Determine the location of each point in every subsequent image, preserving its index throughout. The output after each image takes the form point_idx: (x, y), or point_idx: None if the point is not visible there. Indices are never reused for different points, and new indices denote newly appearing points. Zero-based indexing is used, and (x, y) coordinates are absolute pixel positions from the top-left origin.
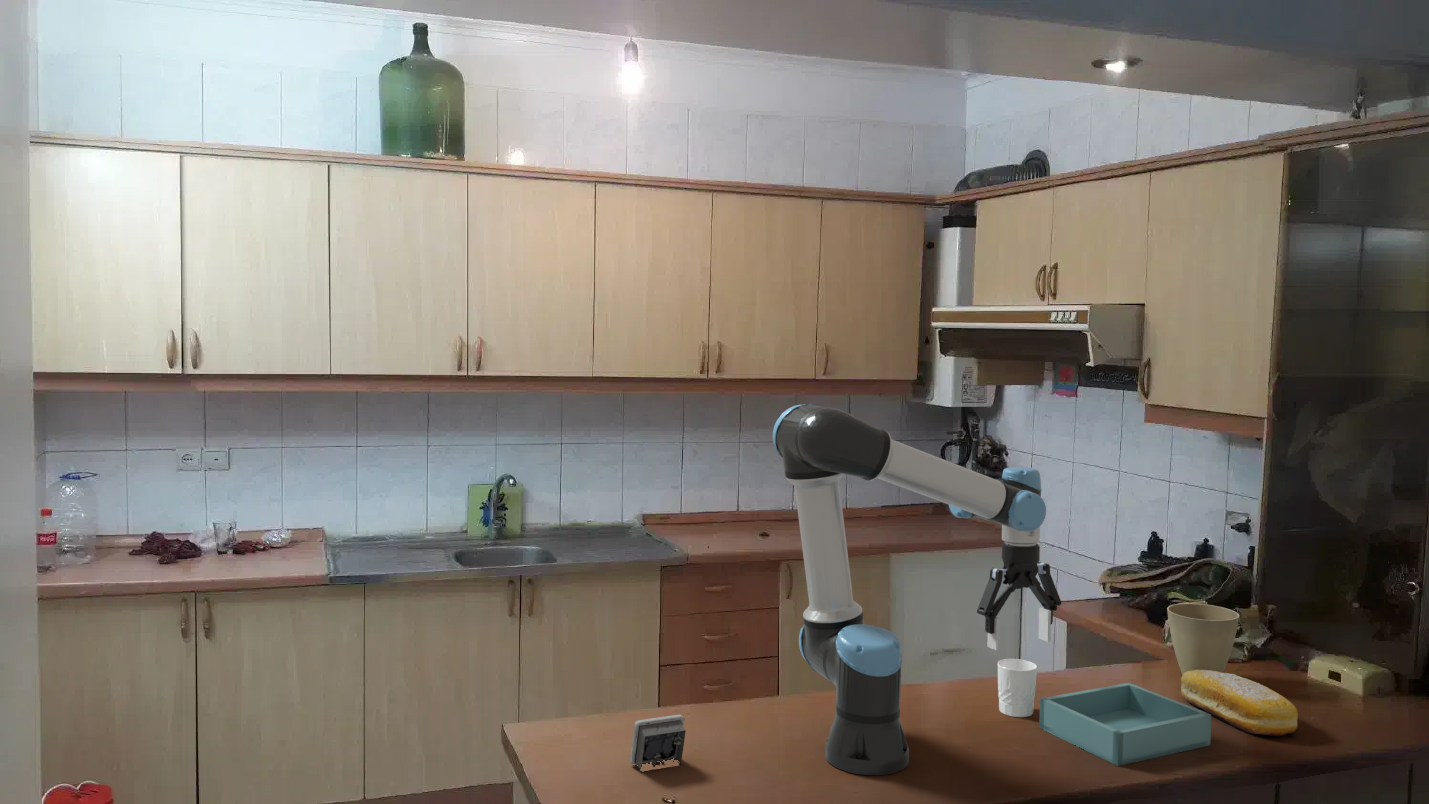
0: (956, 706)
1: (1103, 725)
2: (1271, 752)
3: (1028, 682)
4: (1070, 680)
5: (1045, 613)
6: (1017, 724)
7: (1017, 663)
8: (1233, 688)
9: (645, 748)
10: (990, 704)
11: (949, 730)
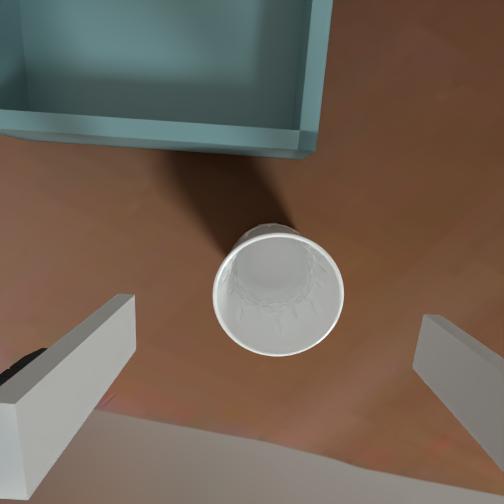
0: (358, 337)
1: None
2: None
3: (285, 229)
4: (16, 340)
5: (41, 409)
6: (326, 200)
7: (236, 328)
8: None
9: None
10: None
11: (482, 243)
